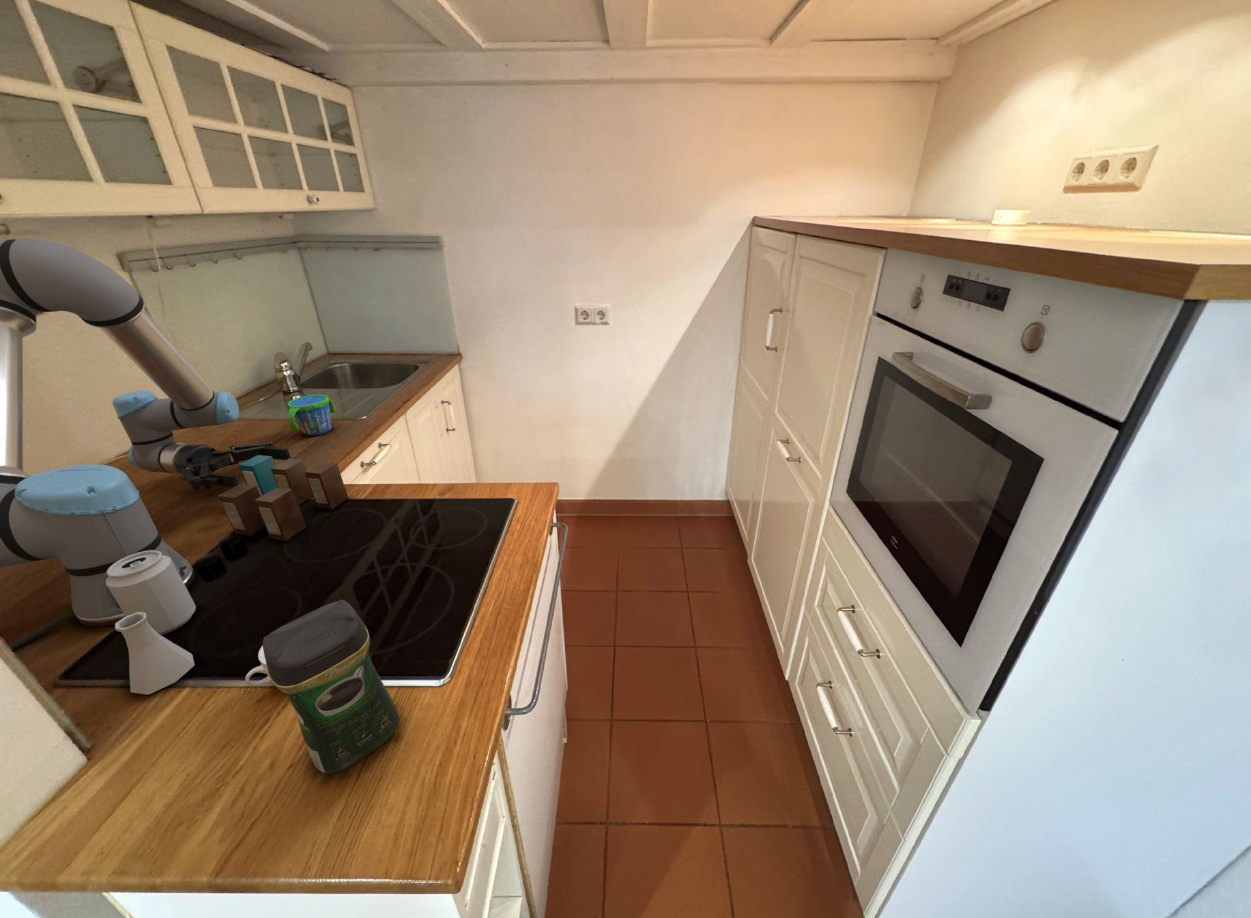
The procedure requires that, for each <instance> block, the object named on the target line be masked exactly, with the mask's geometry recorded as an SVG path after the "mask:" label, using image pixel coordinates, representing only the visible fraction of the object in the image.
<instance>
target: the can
mask: <svg viewBox="0 0 1251 918" xmlns="http://www.w3.org/2000/svg"><path fill="white" fill-rule="evenodd" d="M107 575H109V576H108V578H107V580H106V585H107V587H108V588H109V590H110V592H111V593H112V595H113V596H114V598H115V600H116V601H117V603H118V604H119V606H120V608H121V609H122V611H123V613H124V614H125V616H128V615H131V614H134V613H136V612H142V613H146V615H147V622H148V624H149V625H150V626H151V627H152V628H153V629H154V630H155V631H156V632H157V633H158V634H159V635H161V636H163V635H166V634H168V633H171V632H174V631H175V630H177V629H179V628H180V627H182V626H184V625H185V624H186V623H187V622H189V620H190V619H191V618H192V616H193V614H194V613H195V611H196V609H197V606H196V604H195V601H194V599H193V598H192V596H191V594H190V592H189V590H188V589H187V588H186V587H185V585H184V583H183V581H182V579H181V577H180V575H179V573H178V572H177V570H176V568H175V566H174V564H173V562H172V560H171V558H170V557H168V556H164V555H162V553H161V552H159V551H155V550H150V551H143V552H139V553H135V554H132V555H129V556H127V557H125V558H123V559H121V560H119V561H117V562H115V563H114V564H113V565H112V566H110V567H109V569H108V570H107Z"/></svg>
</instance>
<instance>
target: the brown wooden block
mask: <svg viewBox="0 0 1251 918" xmlns="http://www.w3.org/2000/svg"><path fill="white" fill-rule="evenodd" d="M254 501H255V503H256V505H257V508H258V510H259V513H260V515H261V517H262V520H263V522H264V525H265V527H264V528H265V530H266V531H267V534H268V536H269V539H271V540H277V541H284V542H287V541H288V540H290V539H291V538H293V537H294V536H296V535H298V534H299V533H300V532H301V531H303V530H304V529H306V528H307V526H306V523H305V520H304V517H303V515H302V511H301V508H300V505H298V504H297V501H296V498H295V496H294V493H293V490H291V489H283V488H275V489H273V490H271V491H270V492H268V493H266V494H264V495H263V496H261V497H259V498H257V499H256V500H254Z"/></svg>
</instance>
